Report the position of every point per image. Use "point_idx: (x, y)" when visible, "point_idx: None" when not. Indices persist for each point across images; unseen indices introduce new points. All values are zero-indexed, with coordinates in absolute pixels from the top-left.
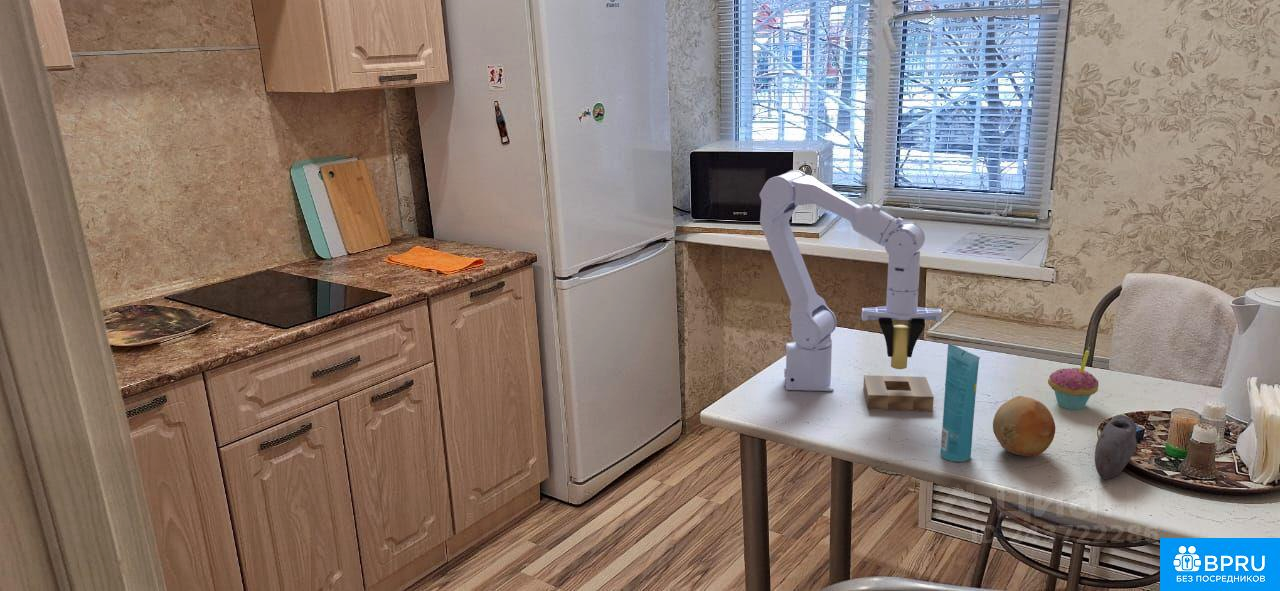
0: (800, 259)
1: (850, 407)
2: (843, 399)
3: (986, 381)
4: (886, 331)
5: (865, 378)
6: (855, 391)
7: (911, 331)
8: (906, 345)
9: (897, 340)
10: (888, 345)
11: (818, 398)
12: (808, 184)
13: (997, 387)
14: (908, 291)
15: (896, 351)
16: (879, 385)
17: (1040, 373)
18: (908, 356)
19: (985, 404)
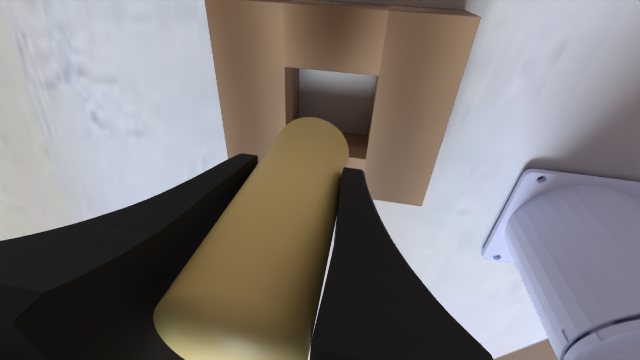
0: None
1: (526, 32)
2: (517, 108)
3: (115, 193)
4: (404, 306)
5: (425, 183)
6: (447, 165)
7: (116, 256)
8: (238, 192)
9: (293, 222)
10: (367, 206)
11: (611, 120)
12: None
13: (86, 162)
14: None
15: (315, 172)
16: (395, 120)
17: (29, 216)
18: (252, 156)
19: (89, 57)
